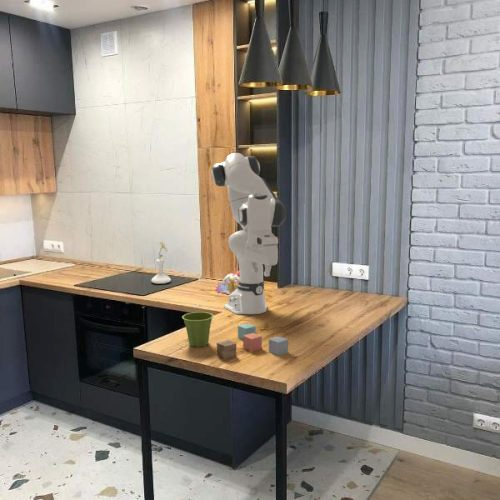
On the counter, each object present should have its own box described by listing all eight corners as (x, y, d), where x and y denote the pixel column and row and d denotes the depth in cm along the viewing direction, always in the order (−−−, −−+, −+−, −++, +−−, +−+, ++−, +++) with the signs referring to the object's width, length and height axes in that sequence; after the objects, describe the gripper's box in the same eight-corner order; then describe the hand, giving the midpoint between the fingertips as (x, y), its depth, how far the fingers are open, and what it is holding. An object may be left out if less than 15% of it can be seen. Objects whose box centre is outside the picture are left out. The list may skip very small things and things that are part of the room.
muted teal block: (237, 337, 204) (237, 325, 203) (247, 335, 207) (247, 323, 206) (245, 340, 200) (245, 328, 199) (255, 338, 203) (255, 326, 202)
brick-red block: (243, 348, 192) (243, 335, 191) (253, 345, 195) (253, 332, 194) (251, 352, 188) (251, 339, 187) (261, 349, 191) (261, 336, 190)
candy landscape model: (264, 291, 281) (264, 275, 279) (227, 297, 268) (227, 280, 267) (241, 283, 301) (241, 267, 300) (205, 288, 289) (205, 272, 288)
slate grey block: (268, 351, 188) (268, 338, 187) (279, 348, 191) (279, 336, 190) (278, 355, 184) (278, 342, 183) (288, 352, 187) (288, 339, 186)
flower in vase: (169, 285, 296) (168, 242, 292) (149, 285, 296) (148, 242, 292) (172, 280, 309) (171, 239, 305) (153, 280, 309) (152, 239, 305)
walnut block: (217, 355, 184) (216, 342, 183) (228, 352, 187) (227, 339, 186) (225, 359, 180) (225, 346, 180) (236, 356, 183) (236, 343, 183)
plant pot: (198, 337, 204) (198, 309, 203) (220, 343, 197) (219, 315, 195) (176, 344, 196) (175, 316, 194) (198, 351, 188) (197, 322, 186)
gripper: (240, 236, 198) (241, 271, 200) (265, 240, 180) (266, 279, 181) (254, 234, 201) (255, 269, 202) (280, 239, 182) (281, 277, 184)
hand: (261, 274), depth 192 cm, fingers open, 8 cm apart
